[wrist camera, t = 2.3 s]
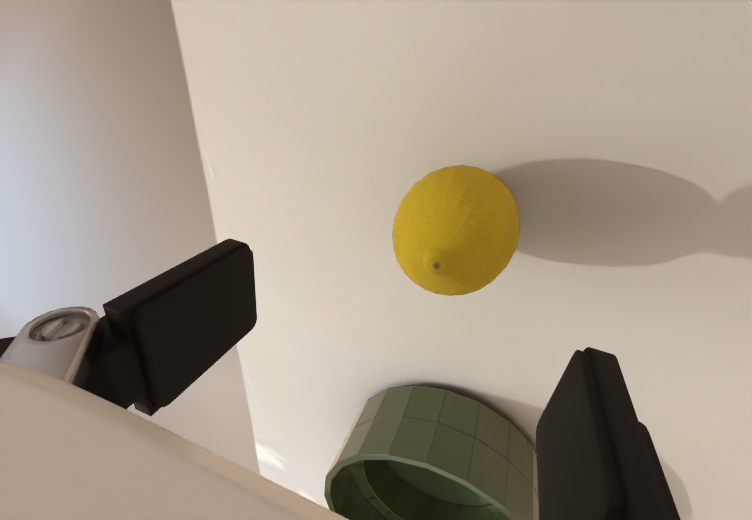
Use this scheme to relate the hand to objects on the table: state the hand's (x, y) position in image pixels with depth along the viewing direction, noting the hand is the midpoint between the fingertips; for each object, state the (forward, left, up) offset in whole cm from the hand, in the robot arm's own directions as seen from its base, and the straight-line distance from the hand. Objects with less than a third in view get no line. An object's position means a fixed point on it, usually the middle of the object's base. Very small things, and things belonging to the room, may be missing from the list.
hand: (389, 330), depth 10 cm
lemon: (0, 0, -12) cm, 12 cm away
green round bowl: (-3, +21, -12) cm, 24 cm away
